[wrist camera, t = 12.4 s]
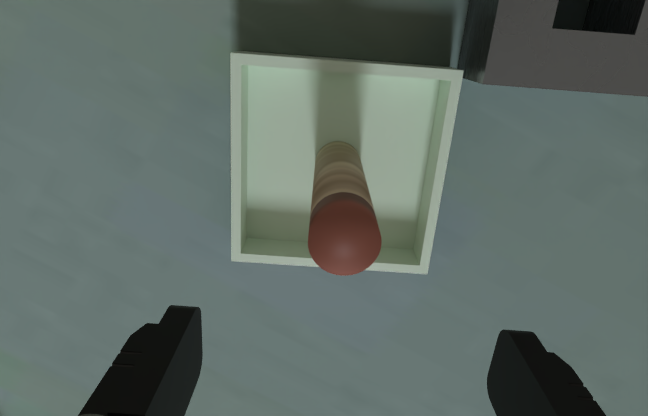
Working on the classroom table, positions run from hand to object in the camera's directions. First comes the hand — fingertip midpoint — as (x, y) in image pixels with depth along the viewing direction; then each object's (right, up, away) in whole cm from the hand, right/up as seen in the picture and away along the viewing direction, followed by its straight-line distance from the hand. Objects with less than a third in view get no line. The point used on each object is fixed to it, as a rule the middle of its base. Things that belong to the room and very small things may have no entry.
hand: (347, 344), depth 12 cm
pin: (0, +7, +17) cm, 19 cm away
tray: (0, +7, +18) cm, 19 cm away
